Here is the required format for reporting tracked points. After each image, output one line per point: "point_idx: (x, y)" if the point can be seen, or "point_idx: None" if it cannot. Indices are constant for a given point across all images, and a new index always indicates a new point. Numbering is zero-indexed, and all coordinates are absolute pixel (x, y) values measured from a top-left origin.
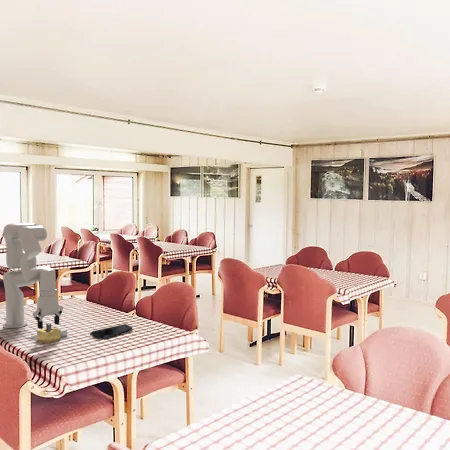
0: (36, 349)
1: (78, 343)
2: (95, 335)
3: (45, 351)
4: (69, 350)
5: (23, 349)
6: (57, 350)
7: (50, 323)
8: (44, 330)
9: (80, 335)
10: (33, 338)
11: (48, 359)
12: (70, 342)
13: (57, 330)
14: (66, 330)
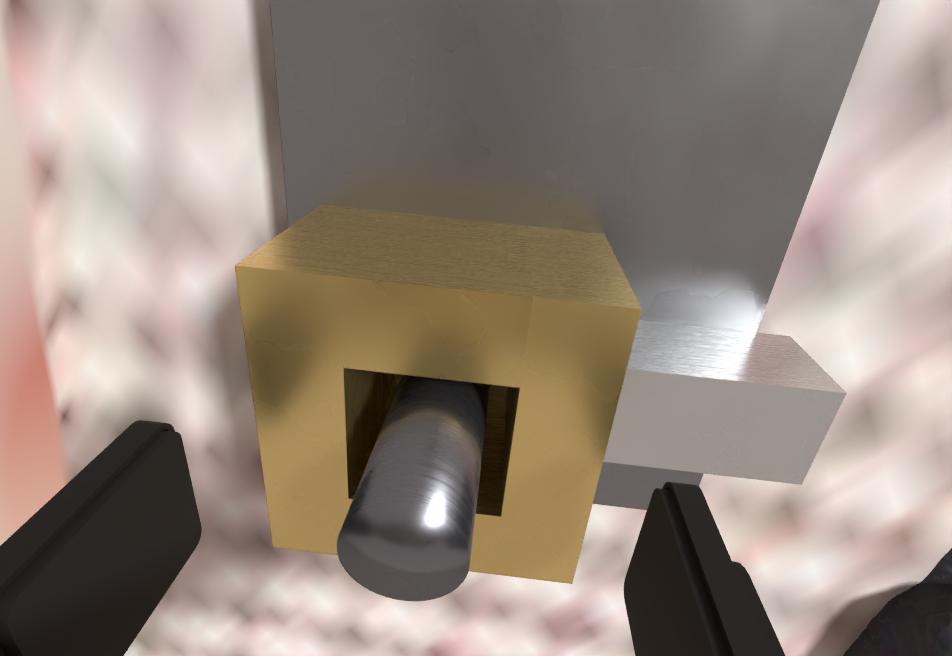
0: (186, 392)
1: (599, 603)
2: (884, 648)
3: (223, 510)
4: (388, 646)
5: (58, 254)
6: (321, 575)
7: (464, 563)
8: (380, 364)
9: (924, 452)
10: (341, 37)
11: (137, 643)
12: (592, 526)
13: (503, 569)
14: (779, 475)
